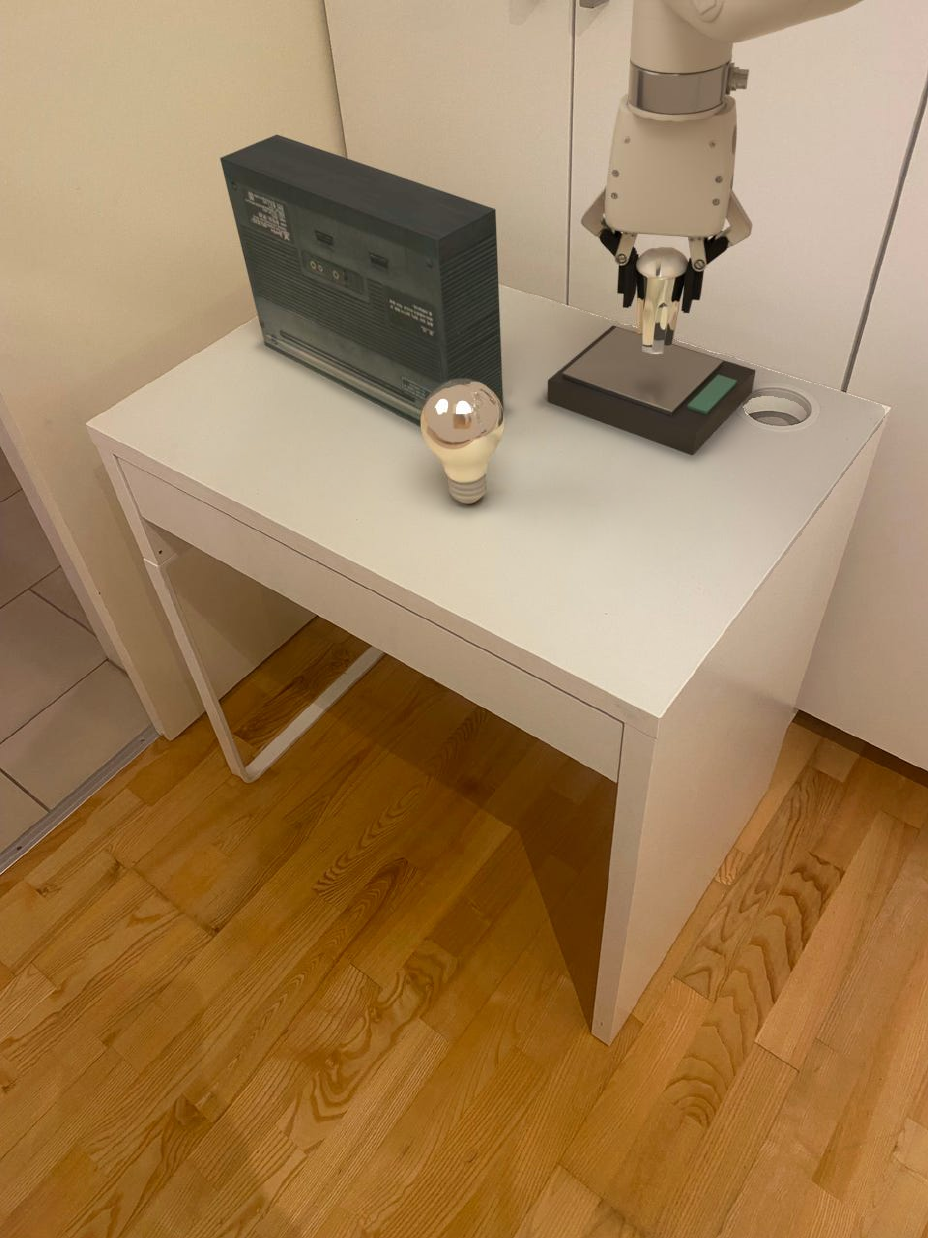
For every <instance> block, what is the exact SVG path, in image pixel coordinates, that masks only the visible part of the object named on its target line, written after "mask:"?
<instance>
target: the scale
mask: <svg viewBox="0 0 928 1238" xmlns="http://www.w3.org/2000/svg"><path fill="white" fill-rule="evenodd" d="M756 372H757V370H756V369H753V368H751V367H747V366H745V365H741V364H738V363H735V362H731V361H728V360H724V359H722V358H719V357H715V356H712V355H709V354H705V353H703V352H699V351H696V350H693V349H689V348H686V347H683V346H680V345H677V344H673V343H672V346H671V349H670V350H668V351H666V352H664V353H662V354H650V353H646V352H643V351H642V350H641V349H640V348H639V347H638V346H637V331H633V330H629V329H626V328H623V327H619V326H616V325H611V326H610V327H609V328H608V329H606V330H605V331H604V332H603V333H602V334H601V335H599V336H598V337H597V338H595V340H593V342H591V343H590V344H589V345H587V346H586V347H585V348H584V349H582V351H580V352H579V353H578V354H577V355H576V356H575V357H573V358H572V359H571V360H570V361H569V362H568V363H566V364H565V365H564V366H562V367H561V368H560V369H559V370H558V371H557V372H556V373H554V374H553V375H552V376H551V377H549V378H548V379H547V403H550V404H553V405H555V406H558V407H561V408H563V409H566V410H569V411H572V412H574V413H578V414H580V415H582V416H586V417H588V418H591V419H594V420H596V421H599V422H602V423H604V424H606V425H607V424H608V425H610V426H612V427H615V428H618V429H620V430H623V431H626V432H629V433H631V434H634V435H637V436H639V437H643V438H645V439H648V440H650V441H653V442H656V443H659V444H661V445H664V446H666V447H669V448H672V449H675V450H677V451H680V452H684V453H685V454H689V455H691V456H694V454H695V453H697V451H698V450H699V449H700V448H701V447H702V446H703V445H704V444H705V443H706V442H707V440H709V438H710V437H712V435H714V434H715V432H716V431H717V430H718V428H720V427H721V426H722V425H723V424H724V422H726V420H727V419H728V418H729V417H730V416H731V415H732V414H733V413H735V411H736V410H737V409H738V407H739V406H741V404H743V402H744V401H745V400H746V399H747V398H748V397H749V396H750V395H751V394H752V393H753V388H754V384H755V377H756Z"/></svg>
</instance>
